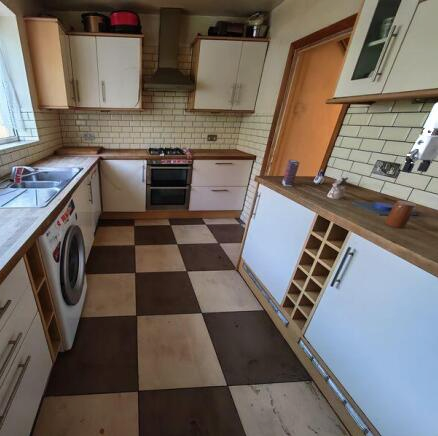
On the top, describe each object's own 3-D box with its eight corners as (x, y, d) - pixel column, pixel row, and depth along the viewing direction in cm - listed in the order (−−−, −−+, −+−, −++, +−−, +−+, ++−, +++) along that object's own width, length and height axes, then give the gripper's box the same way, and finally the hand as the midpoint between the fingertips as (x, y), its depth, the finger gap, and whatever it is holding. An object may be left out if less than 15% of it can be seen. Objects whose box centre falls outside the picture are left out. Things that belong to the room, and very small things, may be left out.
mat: (385, 203, 125) (386, 202, 125) (417, 215, 111) (418, 214, 110) (351, 203, 124) (351, 202, 124) (379, 215, 110) (379, 214, 109)
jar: (393, 221, 103) (405, 200, 99) (408, 228, 98) (422, 206, 93) (380, 221, 103) (391, 200, 99) (395, 228, 97) (407, 205, 93)
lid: (387, 211, 113) (389, 208, 112) (371, 206, 119) (372, 203, 118) (394, 209, 115) (396, 206, 115) (378, 204, 121) (380, 201, 120)
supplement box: (292, 186, 148) (300, 162, 142) (284, 185, 150) (291, 161, 143) (289, 183, 156) (296, 159, 149) (281, 182, 157) (288, 159, 150)
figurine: (325, 194, 136) (333, 174, 131) (339, 196, 134) (347, 176, 129) (329, 198, 130) (337, 177, 125) (344, 200, 128) (353, 179, 123)
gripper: (430, 133, 94) (409, 174, 101) (459, 133, 97) (437, 172, 104) (408, 132, 100) (390, 170, 108) (436, 132, 104) (417, 169, 111)
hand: (413, 171), depth 106 cm, fingers open, 9 cm apart
